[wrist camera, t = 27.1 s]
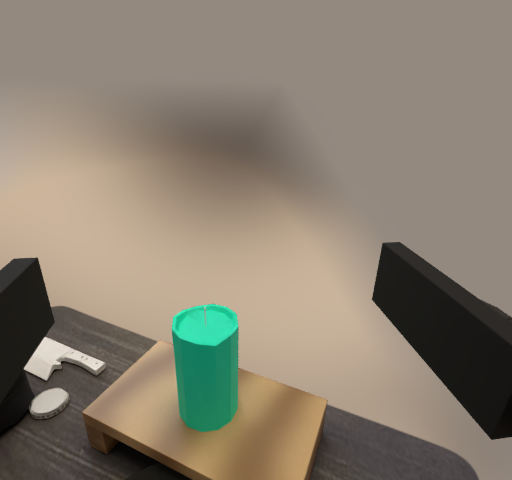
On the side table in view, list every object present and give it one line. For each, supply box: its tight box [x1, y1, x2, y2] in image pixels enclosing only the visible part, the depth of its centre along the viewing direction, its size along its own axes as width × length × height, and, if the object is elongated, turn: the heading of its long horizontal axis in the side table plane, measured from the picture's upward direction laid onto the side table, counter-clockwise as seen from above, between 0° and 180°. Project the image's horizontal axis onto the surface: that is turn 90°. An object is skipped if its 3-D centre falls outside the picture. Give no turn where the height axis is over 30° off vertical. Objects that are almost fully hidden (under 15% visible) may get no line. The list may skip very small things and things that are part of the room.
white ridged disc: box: [29, 387, 69, 419], centre depth 39 cm, size 4×4×1 cm
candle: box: [172, 304, 238, 432], centre depth 31 cm, size 6×6×12 cm
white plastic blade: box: [24, 337, 106, 381], centre depth 45 cm, size 5×15×1 cm, turn 66°
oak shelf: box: [82, 340, 327, 480], centre depth 35 cm, size 22×12×5 cm, turn 66°
